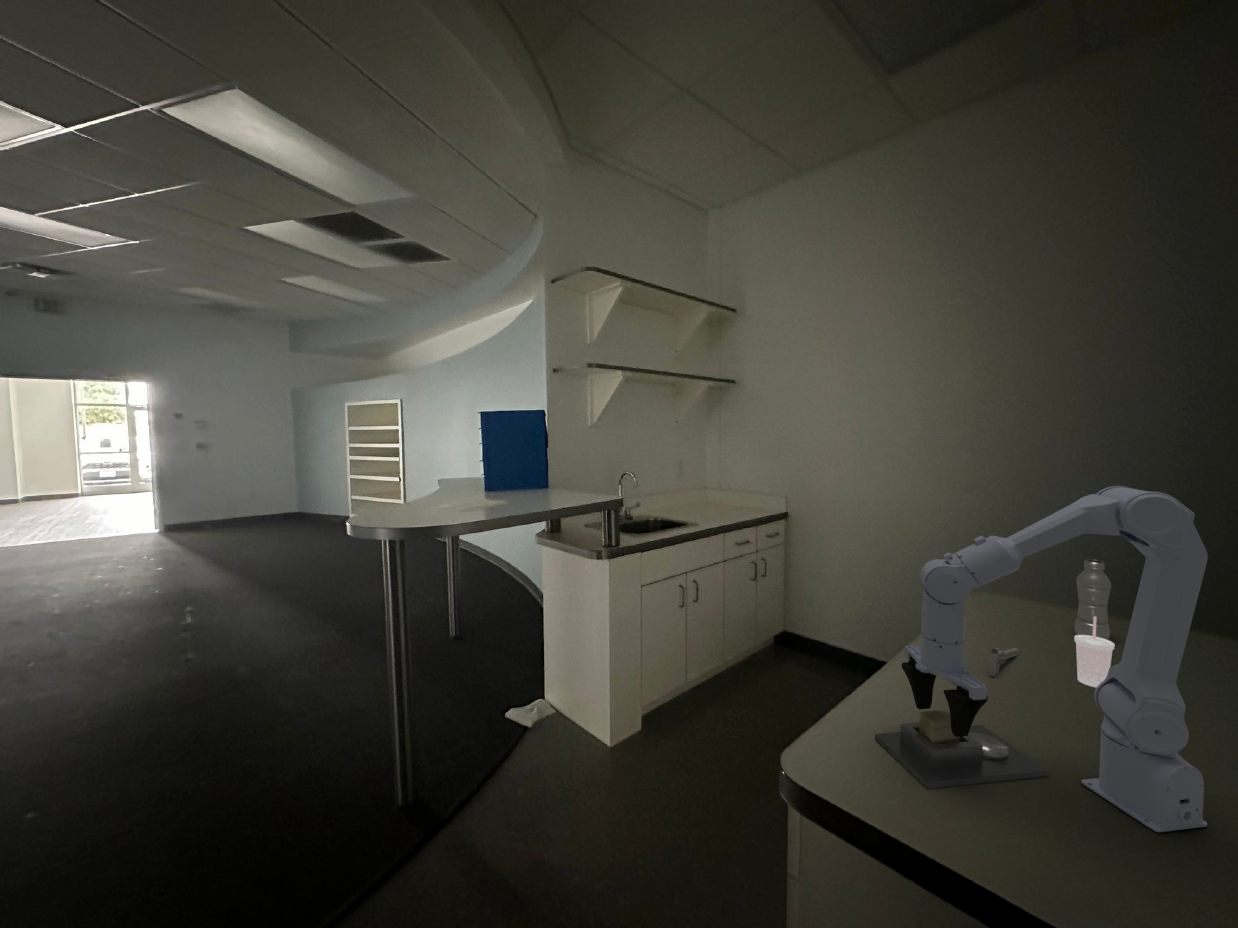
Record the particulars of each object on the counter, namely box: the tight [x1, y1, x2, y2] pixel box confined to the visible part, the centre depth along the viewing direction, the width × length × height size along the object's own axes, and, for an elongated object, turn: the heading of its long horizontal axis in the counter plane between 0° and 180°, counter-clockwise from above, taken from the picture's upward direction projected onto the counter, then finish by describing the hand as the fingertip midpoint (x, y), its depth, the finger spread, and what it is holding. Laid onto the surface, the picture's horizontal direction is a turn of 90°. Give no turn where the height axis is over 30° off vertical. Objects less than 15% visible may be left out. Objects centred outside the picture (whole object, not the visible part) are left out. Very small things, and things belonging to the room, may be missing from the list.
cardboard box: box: [919, 709, 960, 745], centre depth 79 cm, size 3×4×6 cm, turn 97°
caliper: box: [988, 646, 1022, 678], centre depth 112 cm, size 20×1×6 cm, turn 129°
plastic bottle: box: [1074, 559, 1112, 640], centre depth 124 cm, size 6×7×20 cm
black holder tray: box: [874, 721, 1050, 790], centre depth 79 cm, size 12×20×4 cm, turn 97°
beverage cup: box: [1073, 616, 1115, 689], centre depth 103 cm, size 6×6×14 cm
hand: (940, 720), depth 79 cm, fingers open, 7 cm apart
